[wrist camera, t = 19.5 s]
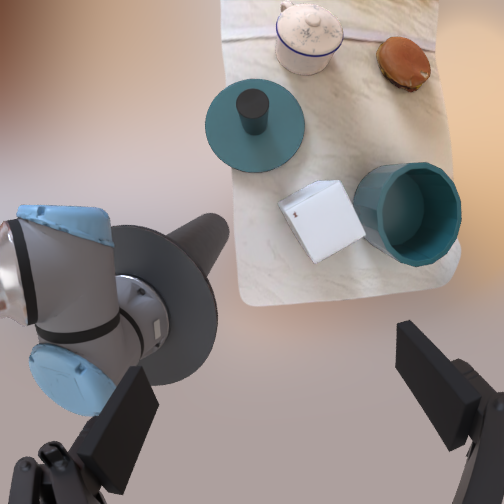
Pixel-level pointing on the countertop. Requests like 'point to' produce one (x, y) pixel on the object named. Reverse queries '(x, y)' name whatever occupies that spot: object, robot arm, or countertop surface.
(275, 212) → the countertop surface
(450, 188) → the tin
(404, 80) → the burger
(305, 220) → the white packaging box
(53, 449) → the robot arm
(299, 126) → the tin lid
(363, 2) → the countertop surface
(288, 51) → the teacup with lid
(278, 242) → the countertop surface
